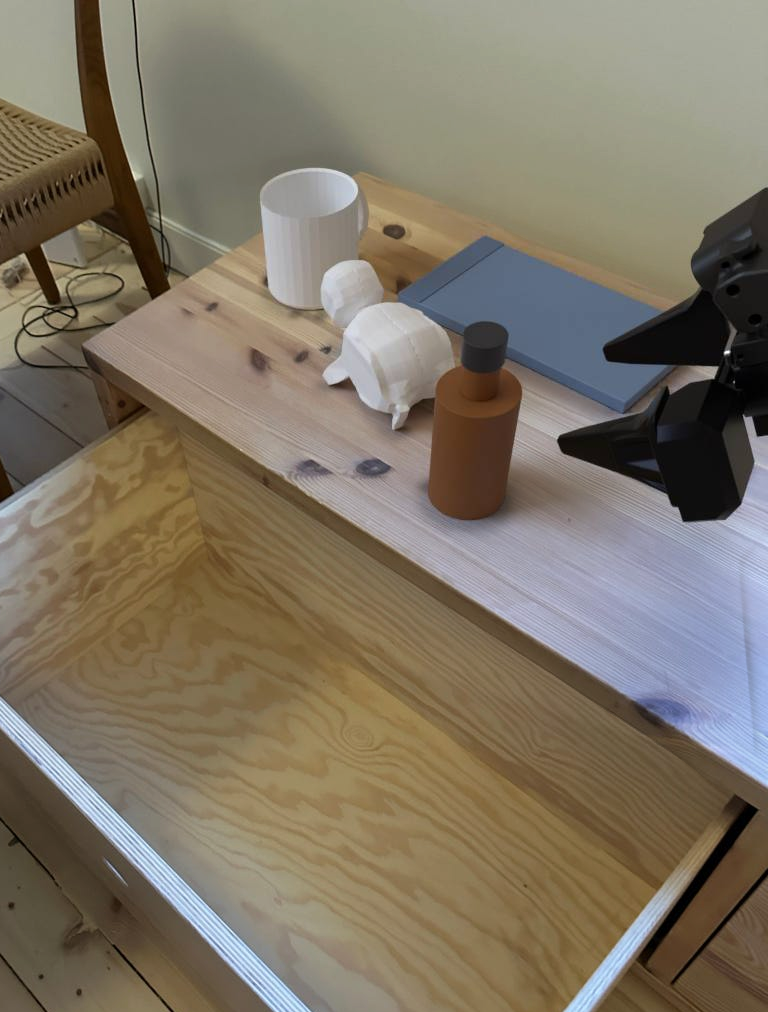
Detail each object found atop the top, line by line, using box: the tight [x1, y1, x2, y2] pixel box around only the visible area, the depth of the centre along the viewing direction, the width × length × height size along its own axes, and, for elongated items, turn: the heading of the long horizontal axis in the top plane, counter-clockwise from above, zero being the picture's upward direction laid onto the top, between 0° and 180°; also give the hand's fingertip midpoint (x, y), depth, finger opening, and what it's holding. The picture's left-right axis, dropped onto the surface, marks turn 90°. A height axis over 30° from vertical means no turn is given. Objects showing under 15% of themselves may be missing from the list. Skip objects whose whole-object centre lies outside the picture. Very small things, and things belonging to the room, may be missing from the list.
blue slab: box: [397, 234, 678, 414], centre depth 83 cm, size 25×13×1 cm, turn 45°
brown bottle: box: [427, 321, 523, 521], centre depth 65 cm, size 6×6×14 cm
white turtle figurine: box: [321, 259, 456, 431], centre depth 77 cm, size 9×8×15 cm
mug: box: [259, 167, 370, 311], centre depth 86 cm, size 12×9×9 cm
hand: (583, 396), depth 54 cm, fingers open, 9 cm apart
